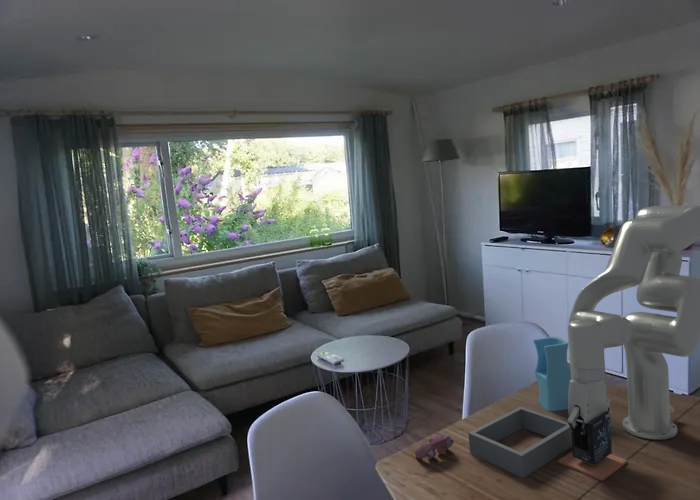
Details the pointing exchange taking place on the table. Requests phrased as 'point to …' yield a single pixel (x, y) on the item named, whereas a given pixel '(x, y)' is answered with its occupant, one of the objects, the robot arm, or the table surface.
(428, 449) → the video game controller
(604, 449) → the box
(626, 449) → the table surface
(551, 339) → the vase
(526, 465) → the enclosure
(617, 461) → the mat
